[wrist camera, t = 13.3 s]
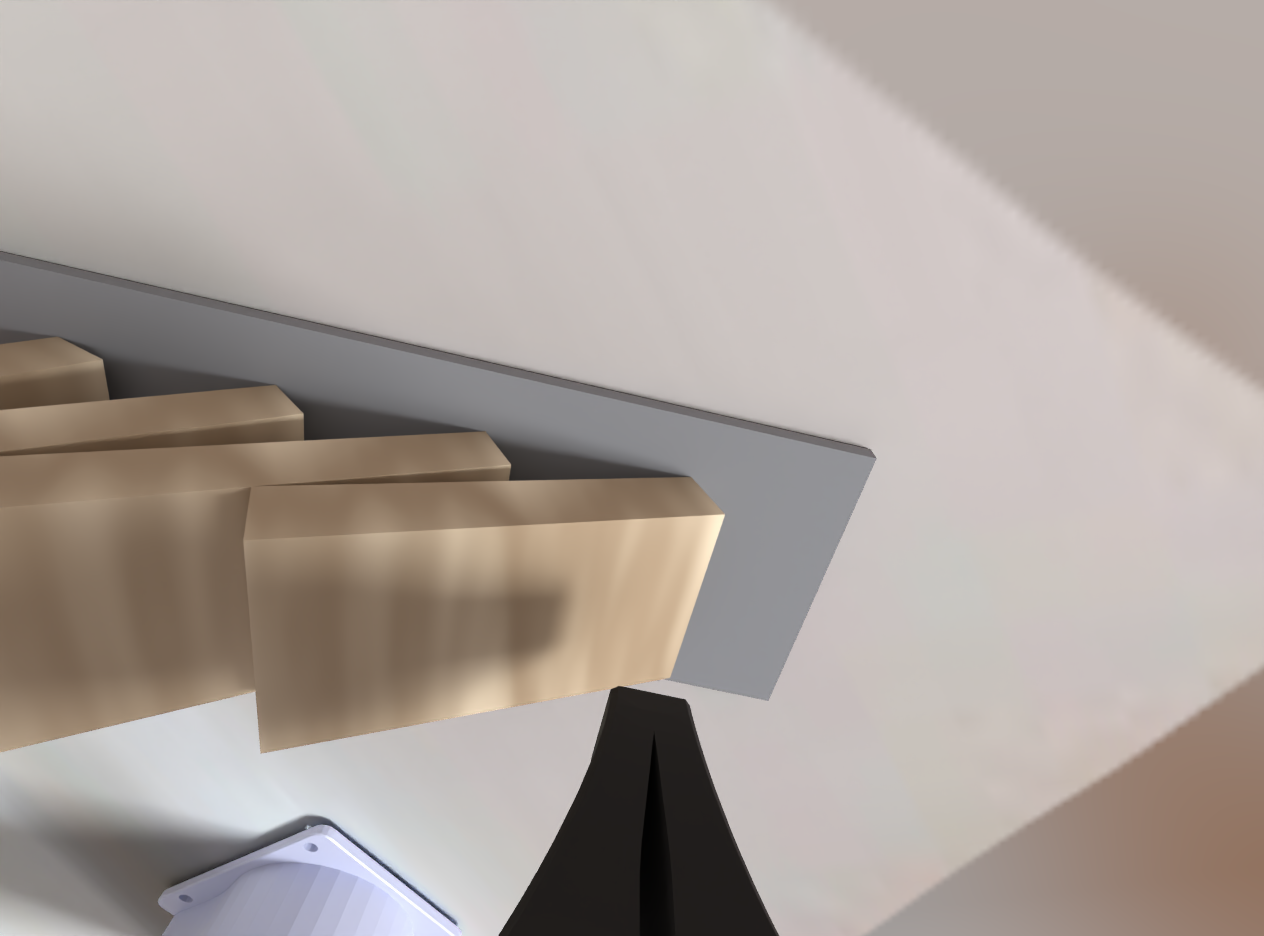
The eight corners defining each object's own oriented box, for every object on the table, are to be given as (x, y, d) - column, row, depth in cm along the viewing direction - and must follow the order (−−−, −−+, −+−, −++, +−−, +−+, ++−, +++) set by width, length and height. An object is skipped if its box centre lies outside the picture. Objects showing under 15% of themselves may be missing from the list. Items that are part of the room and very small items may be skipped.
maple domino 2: (511, 464, 14) (-101, 515, 9) (486, 636, 16) (-10, 755, 11) (485, 431, 15) (-69, 459, 10) (465, 595, 17) (7, 687, 12)
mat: (870, 449, 15) (876, 458, 14) (765, 687, 19) (768, 700, 18) (-270, 189, 14) (-302, 191, 13) (-144, 498, 17) (-165, 508, 17)
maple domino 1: (303, 413, 14) (-509, 515, 7) (307, 592, 16) (-312, 786, 10) (275, 384, 15) (-470, 453, 8) (283, 558, 17) (-298, 715, 10)
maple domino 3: (725, 514, 14) (243, 540, 10) (670, 677, 16) (260, 753, 12) (691, 476, 15) (251, 486, 11) (644, 633, 17) (265, 688, 13)
